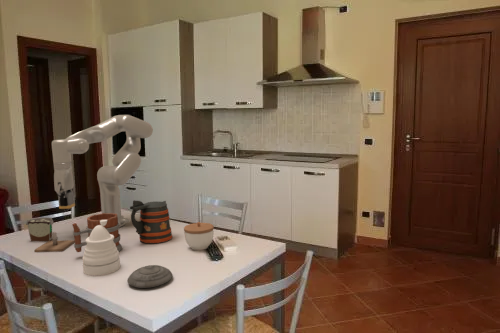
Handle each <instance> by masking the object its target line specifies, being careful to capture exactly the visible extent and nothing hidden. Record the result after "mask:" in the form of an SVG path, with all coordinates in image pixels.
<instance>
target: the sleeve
mask: <svg viewBox="0 0 500 333" xmlns="http://www.w3.org/2000/svg"><path fill="white" fill-rule="evenodd" d="M61 193H63V194H64V192H61ZM74 195H75V194H74V190H73V191H71V192H66V197H67V203H68V206H60V198H59V195H58V194H57V198H58V200H57V201H58V208H59V209H61V210H65V209H72V208H74V207H75V206H76V202H75V196H74Z"/></svg>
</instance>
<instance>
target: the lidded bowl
mask: <svg viewBox="0 0 500 333" xmlns="http://www.w3.org/2000/svg"><path fill="white" fill-rule="evenodd" d="M214 228H215V227H214V224H212V223H209V222H201V221H197V222H194V223H188V224H187V225H185V226H184V227H183V233H184V238H185V242H186V244H187V245H188V246H189V247H190V248H191V249H192V250H194V251H203V250H206V249H208V248H209V246H210V245H211V244H212V242H213V240H214Z"/></svg>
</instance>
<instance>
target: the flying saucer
mask: <svg viewBox="0 0 500 333" xmlns="http://www.w3.org/2000/svg"><path fill="white" fill-rule="evenodd" d="M172 278H173V273H172V272H171V270H170V269H169V268H167V267H165V266H163V265H162V266H161V265H158V264H152V265H151V264H150V265H145V266H144V265H143V266H141V267H139V268H137V269H136V270H133V272H132V273H131V274H129V276H128V278H127V283H128V284H129V285H130V286H131V287H134V288H141V289H143V288H144V289H145V288H146V289H149V288H155V287H158V286H162V285H164V284H166V283H169V281H170V280H171V279H172Z"/></svg>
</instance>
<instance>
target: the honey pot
mask: <svg viewBox="0 0 500 333" xmlns="http://www.w3.org/2000/svg"><path fill="white" fill-rule="evenodd" d="M100 224H101V225H98V226H96V227H95V228H94V229H93V230H92V232H91V234H90V236H89V237H88V236H87V238H85V241H84V242H86V243H87V245H85V247H84V252H83V255H82V269H83V270H82V271H83V274H85V275H86V276H93V277H94V276H95V277H96V276H105V275H108V274H112V273H114V272H117V271H118V270H119V269H120V268H121V259H120V251H119V252H118V250H117V247H116V244H115V243H114V241H113V239H114V235H112V234H109V232H108V231H107V230H106V228H105V227H103V226H105V225H106V224H107V220H101V221H100Z"/></svg>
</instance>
